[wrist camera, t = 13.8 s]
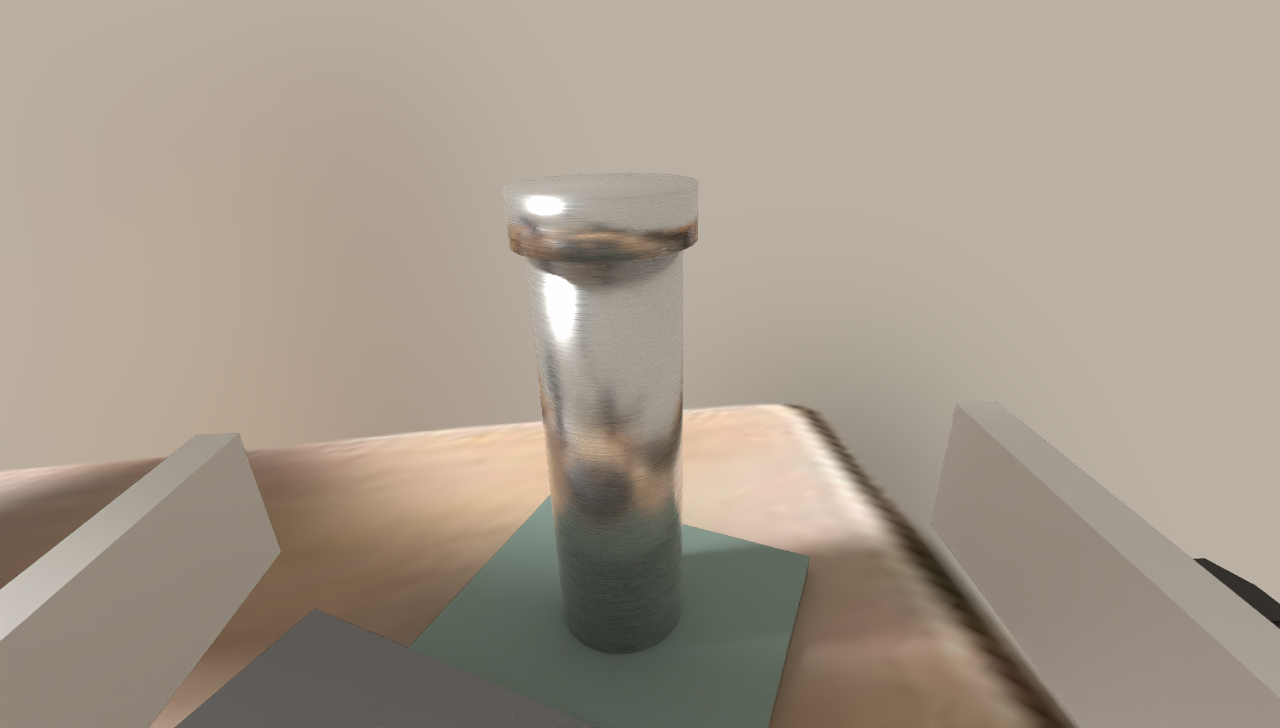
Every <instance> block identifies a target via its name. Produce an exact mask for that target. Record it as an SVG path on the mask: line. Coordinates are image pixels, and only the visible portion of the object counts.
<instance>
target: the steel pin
mask: <svg viewBox="0 0 1280 728" xmlns="http://www.w3.org/2000/svg"><path fill="white" fill-rule="evenodd" d="M503 197H504V205H505V214H506V223H507V230H508V240H509V247H510V249H511V250H512V251H513V252H515V253H517V254H519V255H522V256H525V257H526V266H527V276H528V285H529V294H530V303H531V313H532V323H533V332H534V341H535V350H536V360H537V370H538V378H539V388H540V397H541V407H542V417H543V426H544V435H545V445H546V454H547V464H548V473H549V482H550V492H551V501H552V510H553V520H554V529H555V539H556V548H557V557H558V567H559V576H560V586H561V595H562V604H563V614H564V619H565V622H566V625H567V627H568V629H569V630H570V632H571V633H572V634H573V635H574V636H575V637H576V638H577V639H578V640H579V641H580V642H581V643H583V644H585V645H586V646H588V647H590V648H593V649H595V650H598V651H602V652H606V653H614V654H625V653H633V652H638V651H642V650H645V649H647V648H650V647H652V646H654V645H656V644H658V643H659V642H661V641H662V640H663V639H665V638H666V637H667V636H668V635H669V634H670V633H671V632H672V631H673V629H674V628H675V627H676V625H677V623H678V622H679V619H680V616H681V612H682V510H683V250H684V249H687V248H689V247H691V246H693V245H694V244H695V243H696V242H697V240H698V181H697V180H696V179H694V178H690V177H685V176H678V175H670V174H654V173H599V174H598V173H597V174H578V175H566V176H565V175H564V176H555V177H545V178H537V179H531V180H525V181H520V182H516V183H512V184H509V185H507V186H505V187H503Z"/></svg>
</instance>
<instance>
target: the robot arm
mask: <svg viewBox="0 0 1280 728" xmlns="http://www.w3.org/2000/svg"><path fill="white" fill-rule="evenodd" d="M931 524H932V526H933V527H934V528H935V530H936V531H937V532H938V534H939V535H940V536H941V538H942V539H943V540H944V542H945V543H946V545H947V546H948V547H949V549H950V550H951V552H952V553H953V554H954V556H955V557H956V558H957V560H958V561H959V563H960V564H961V565H962V567H963V568H964V569H965V571H966V572H967V574H968V575H969V576H970V578H971V579H972V580H973V582H974V583H975V584H976V586H977V587H978V589H979V590H980V591H981V593H982V594H983V595H984V597H985V598H986V600H987V601H988V602H989V604H990V605H991V606H992V608H993V609H994V611H995V612H996V613H997V615H998V616H999V617H1000V619H1001V620H1002V622H1003V623H1004V624H1005V626H1006V627H1007V628H1008V630H1009V631H1010V633H1011V634H1012V635H1013V637H1014V638H1015V639H1016V641H1017V642H1018V644H1019V645H1020V646H1021V648H1022V649H1023V650H1024V652H1025V653H1026V655H1027V656H1028V657H1029V659H1030V660H1031V661H1032V663H1033V664H1034V665H1035V667H1036V668H1037V670H1038V671H1039V672H1040V674H1041V675H1042V676H1043V678H1044V679H1045V681H1046V682H1047V683H1048V685H1049V686H1050V687H1051V689H1052V690H1053V692H1054V693H1055V694H1056V696H1057V697H1058V698H1059V700H1060V701H1061V703H1062V704H1063V705H1064V707H1065V708H1066V709H1067V711H1068V712H1069V714H1070V715H1071V716H1072V718H1073V719H1074V720H1075V722H1076V723H1077V725H1078V726H1079V727H1080V728H1280V604H1279V603H1278V602H1277V601H1275V600H1274V599H1273V598H1271V597H1270V596H1269V595H1267V594H1266V593H1265V592H1263V591H1262V590H1261V589H1259V588H1258V587H1257V586H1255V585H1254V584H1252V583H1250V582H1248V581H1246V580H1244V579H1242V578H1241V577H1238V576H1237V575H1235V574H1233V573H1231V572H1229V571H1227V570H1225V569H1224V568H1222V567H1220V566H1218V565H1216V564H1214V563H1212V562H1211V561H1209V560H1207V559H1205V558H1202V559H1201V558H1200V559H1192V558H1190V556H1188V555H1187V554H1186V553H1185V552H1183V551H1182V550H1181V549H1180V548H1178V547H1177V546H1176V545H1175V544H1173V543H1172V542H1171V541H1170V540H1168V539H1167V538H1166V537H1165V536H1164V535H1162V534H1161V533H1160V532H1159V531H1157V530H1156V529H1155V528H1154V527H1152V526H1151V525H1150V524H1148V523H1147V522H1146V521H1145V520H1143V519H1142V518H1141V517H1140V516H1139V515H1137V514H1136V513H1135V512H1134V511H1133V510H1131V509H1130V508H1129V507H1128V506H1126V505H1125V504H1124V503H1123V502H1121V501H1120V500H1119V499H1118V498H1116V497H1115V496H1114V495H1112V494H1111V493H1110V492H1109V491H1108V490H1106V489H1105V488H1104V487H1102V486H1101V485H1100V484H1099V483H1098V482H1096V481H1095V480H1094V479H1093V478H1091V477H1090V476H1089V475H1088V474H1086V473H1085V472H1084V471H1083V470H1082V469H1080V468H1079V467H1078V466H1077V465H1075V464H1074V463H1073V462H1072V461H1070V460H1069V459H1068V458H1067V457H1065V456H1064V455H1063V454H1062V453H1060V452H1059V451H1058V450H1057V449H1055V448H1054V447H1053V446H1052V445H1050V444H1049V443H1048V442H1047V441H1046V440H1044V439H1043V438H1042V437H1041V436H1039V435H1038V434H1037V433H1036V432H1034V431H1033V430H1032V429H1031V428H1029V427H1028V426H1027V425H1026V424H1024V423H1023V422H1022V421H1021V420H1020V419H1018V418H1017V417H1016V416H1015V415H1013V414H1012V413H1011V412H1009V411H1008V410H1007V409H1006V408H1005V407H1003V406H1002V405H1001V404H1000V403H998V402H976V403H975V402H974V403H956V406H955V411H954V415H953V420H952V425H951V430H950V435H949V439H948V444H947V449H946V454H945V458H944V463H943V468H942V472H941V477H940V482H939V487H938V492H937V496H936V501H935V506H934V511H933V515H932V520H931ZM280 553H281V550H280V547H279V544H278V541H277V539H276V536H275V533H274V530H273V527H272V525H271V522H270V519H269V516H268V513H267V511H266V508H265V505H264V502H263V499H262V497H261V494H260V491H259V488H258V485H257V483H256V480H255V477H254V474H253V471H252V469H251V466H250V463H249V460H248V457H247V455H246V452H245V449H244V446H243V443H242V441H241V438H240V435H239V433H231V434H230V433H229V434H207V435H206V434H205V435H196V436H194V437H193V438H192V439H191V440H189V441H188V442H187V443H185V444H184V445H183V446H182V447H181V448H179V449H178V450H177V451H175V452H174V453H173V454H171V455H170V456H169V457H168V458H166V459H165V460H164V461H163V462H161V463H160V464H159V465H157V466H156V467H155V468H154V469H152V470H151V471H150V472H149V473H147V474H146V475H145V476H144V477H142V478H141V479H140V480H138V481H137V482H136V483H135V484H133V485H132V486H131V487H130V488H128V489H127V490H126V491H125V492H123V493H122V494H121V495H119V496H118V497H117V498H116V499H114V500H113V501H112V502H111V503H109V504H108V505H107V506H106V507H104V508H103V509H102V510H100V511H99V512H98V513H97V514H95V515H94V516H93V517H92V518H90V519H89V520H88V521H86V522H85V523H84V524H83V525H81V526H80V527H79V528H78V529H76V530H75V531H74V532H73V533H71V534H70V535H69V536H67V537H66V538H65V539H64V540H62V541H61V542H60V543H59V544H57V545H56V546H55V547H54V548H52V549H51V550H50V551H48V552H47V553H46V554H45V555H43V556H42V557H41V558H40V559H38V560H37V561H36V562H35V563H33V564H32V565H31V566H29V567H28V568H27V569H26V570H24V571H23V572H22V573H21V574H19V575H18V576H17V577H16V578H14V579H13V580H12V581H10V582H9V583H8V584H7V585H5V586H4V587H3V588H2V589H0V728H149V727H150V726H151V724H152V723H153V722H154V720H155V719H156V718H157V716H158V715H159V714H160V712H161V711H162V710H163V708H164V707H165V706H166V704H167V703H168V702H169V700H170V699H171V698H172V696H173V695H174V694H175V692H176V691H177V690H178V688H179V687H180V686H181V684H182V683H183V682H184V680H185V679H186V678H187V676H188V675H189V674H190V672H191V671H192V670H193V669H194V667H195V666H196V665H197V663H198V662H199V661H200V659H201V658H202V657H203V655H204V654H205V653H206V651H207V650H208V649H209V647H210V646H211V645H212V643H213V642H214V641H215V639H216V638H217V637H218V635H219V634H220V633H221V631H222V630H223V629H224V627H225V626H226V625H227V623H228V622H229V621H230V619H231V618H232V617H233V615H234V614H235V613H236V611H237V610H238V609H239V607H240V606H241V605H242V603H243V602H244V601H245V599H246V598H247V597H248V595H249V594H250V593H251V591H252V590H253V589H254V587H255V586H256V585H257V583H258V582H259V581H260V579H261V578H262V577H263V575H264V574H265V573H266V571H267V570H268V569H269V568H270V566H271V565H272V564H273V562H274V561H275V560H276V558H277V557H278V556H279V554H280Z"/></svg>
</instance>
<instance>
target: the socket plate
mask: <svg viewBox="0 0 1280 728" xmlns="http://www.w3.org/2000/svg"><path fill="white" fill-rule="evenodd" d="M175 728H599V727H596V726H594V725H592V724H589V723H587V722H584V721H582V720H580V719H577V718H575V717H573V716H570V715H568V714H565V713H563V712H561V711H558V710H556V709H553V708H551V707H549V706H546V705H544V704H541V703H539V702H537V701H534V700H532V699H530V698H527V697H525V696H522V695H520V694H518V693H515V692H513V691H510V690H508V689H506V688H503V687H501V686H499V685H496V684H494V683H491V682H489V681H487V680H484V679H482V678H479V677H477V676H475V675H472V674H470V673H467V672H465V671H463V670H460V669H458V668H456V667H453V666H451V665H448V664H446V663H444V662H441V661H439V660H436V659H434V658H432V657H429V656H427V655H425V654H422V653H420V652H417V651H415V650H413V649H410V648H408V647H405V646H403V645H401V644H398V643H396V642H393V641H391V640H389V639H386V638H384V637H382V636H379V635H377V634H374V633H372V632H370V631H367V630H365V629H362V628H360V627H358V626H355V625H353V624H351V623H348V622H346V621H343V620H341V619H339V618H336V617H334V616H331V615H329V614H327V613H324V612H322V611H319V610H317V609H314V610H313V611H312V612H310V613H309V614H308V615H307V616H306V617H304V618H303V619H302V620H301V621H300V622H299V623H297V624H296V625H295V626H294V627H293V628H292V629H290V630H289V631H288V632H287V633H286V634H284V635H283V636H282V637H281V638H280V639H279V640H277V641H276V642H275V643H274V644H273V645H271V646H270V647H269V648H268V649H267V650H266V651H264V652H263V653H262V654H261V655H260V656H259V657H257V658H256V659H255V660H254V661H253V662H251V663H250V664H249V665H248V666H247V667H246V668H244V669H243V670H242V671H241V672H240V673H239V674H237V675H236V676H235V677H234V678H233V679H231V680H230V681H229V682H228V683H227V684H226V685H224V686H223V687H222V688H221V689H220V690H218V691H217V692H216V693H215V694H214V695H213V696H211V697H210V698H209V699H208V700H207V701H206V702H204V703H203V704H202V705H201V706H200V707H198V708H197V709H196V710H195V711H194V712H193V713H191V714H190V715H189V716H188V717H187V718H186V719H184V720H183V721H182V722H181V723H180V724H178V725H177V726H176V727H175Z"/></svg>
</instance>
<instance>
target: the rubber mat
mask: <svg viewBox="0 0 1280 728" xmlns="http://www.w3.org/2000/svg"><path fill="white" fill-rule="evenodd" d="M808 566H809V557H808V556H805V555H801V554H797V553H793V552H789V551H785V550H781V549H777V548H773V547H769V546H766V545H762V544H758V543H754V542H750V541H746V540H742V539H738V538H734V537H731V536H727V535H723V534H719V533H715V532H711V531H707V530H703V529H699V528H695V527H692V526H688V525H684V524H682V612H681V616H680V619H679V622H678V623H677V625H676V627H675V628H674V629H673V631H672V632H671V633H670V634H669V635H668V636H667V637H666V638H665V639H663V640H662V641H661V642H659V643H658V644H656V645H654V646H652V647H650V648H647V649H645V650H642V651H638V652H633V653H625V654H614V653H606V652H602V651H598V650H595V649H593V648H590V647H588V646H586V645H585V644H583V643H581V642H580V641H579V640H578V639H577V638H576V637H575V636H574V635H573V634H572V633H571V632H570V630H569V629H568V627H567V625H566V622H565V619H564V614H563V604H562V595H561V586H560V576H559V567H558V557H557V548H556V539H555V529H554V520H553V510H552V501H551V495H550V496H549V497H548V498H547V499H546V500H545V501H544V502H543V503H542V504H541V505H540V507H539V508H538V509H537V510H536V511H535V512H534V513H533V514H532V515H531V516H530V517H529V518H528V519H527V521H526V522H525V523H524V524H523V525H522V526H521V527H520V528H519V529H518V530H517V531H516V532H515V533H514V535H513V536H512V537H511V538H510V539H509V540H508V541H507V542H506V543H505V544H504V545H503V546H502V547H501V549H500V550H499V551H498V552H497V553H496V554H495V555H494V556H493V557H492V558H491V559H490V560H489V561H488V563H487V564H486V565H485V566H484V567H483V568H482V569H481V570H480V571H479V572H478V573H477V574H476V575H475V577H474V578H473V579H472V580H471V581H470V582H469V583H468V584H467V585H466V586H465V587H464V588H463V589H462V591H461V592H460V593H459V594H458V595H457V596H456V597H455V598H454V599H453V600H452V601H451V602H450V603H449V605H448V606H447V607H446V608H445V609H444V610H443V611H442V612H441V613H440V614H439V615H438V616H437V617H436V619H435V620H434V621H433V622H432V623H431V624H430V625H429V626H428V627H427V628H426V629H425V630H424V631H423V633H422V634H421V635H420V636H419V637H418V638H417V639H416V640H415V641H414V642H413V643H412V644H411V645H410V647H409V648H410V649H413V650H415V651H417V652H420V653H422V654H425V655H427V656H429V657H432V658H434V659H436V660H439V661H441V662H444V663H446V664H448V665H451V666H453V667H456V668H458V669H460V670H463V671H465V672H467V673H470V674H472V675H475V676H477V677H479V678H482V679H484V680H487V681H489V682H491V683H494V684H496V685H499V686H501V687H503V688H506V689H508V690H510V691H513V692H515V693H518V694H520V695H522V696H525V697H527V698H530V699H532V700H534V701H537V702H539V703H541V704H544V705H546V706H549V707H551V708H553V709H556V710H558V711H561V712H563V713H565V714H568V715H570V716H573V717H575V718H577V719H580V720H582V721H584V722H587V723H589V724H592V725H594V726H596V727H599V728H769V724H770V720H771V716H772V712H773V708H774V704H775V700H776V696H777V692H778V688H779V684H780V680H781V676H782V672H783V668H784V664H785V660H786V656H787V652H788V648H789V643H790V639H791V635H792V631H793V627H794V623H795V619H796V615H797V611H798V607H799V603H800V599H801V595H802V591H803V587H804V583H805V579H806V575H807V571H808Z"/></svg>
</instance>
